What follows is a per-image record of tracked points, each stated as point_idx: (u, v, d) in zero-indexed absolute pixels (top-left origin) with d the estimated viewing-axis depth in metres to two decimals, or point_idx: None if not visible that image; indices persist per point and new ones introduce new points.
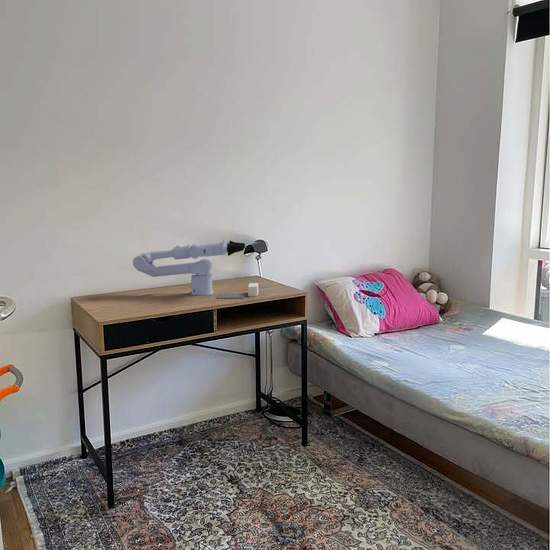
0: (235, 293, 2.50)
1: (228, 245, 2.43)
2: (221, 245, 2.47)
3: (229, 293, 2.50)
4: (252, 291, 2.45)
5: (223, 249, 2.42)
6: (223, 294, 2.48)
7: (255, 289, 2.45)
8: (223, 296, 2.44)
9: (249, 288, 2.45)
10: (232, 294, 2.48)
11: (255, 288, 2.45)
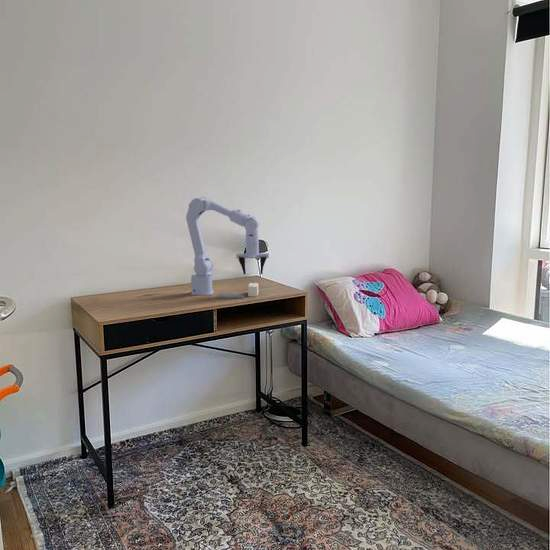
0: (235, 293, 2.50)
1: (239, 260, 2.45)
2: (247, 252, 2.44)
3: (229, 293, 2.50)
4: (252, 291, 2.45)
5: None
6: (223, 294, 2.48)
7: (255, 289, 2.45)
8: (223, 296, 2.44)
9: (249, 288, 2.45)
10: (232, 294, 2.48)
11: (255, 288, 2.45)
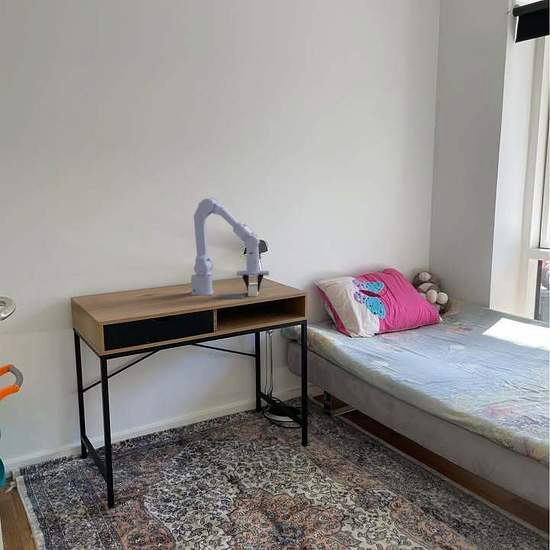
0: (235, 293, 2.50)
1: (243, 278, 2.46)
2: (247, 270, 2.46)
3: (229, 293, 2.50)
4: (252, 291, 2.45)
5: (237, 273, 2.47)
6: (223, 294, 2.48)
7: (255, 289, 2.45)
8: (223, 296, 2.44)
9: (249, 288, 2.45)
10: (232, 294, 2.48)
11: (255, 288, 2.44)
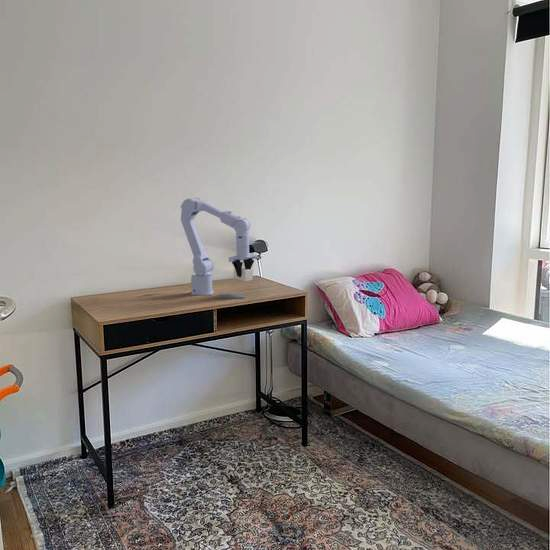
0: (235, 293, 2.50)
1: (237, 263, 2.41)
2: (241, 254, 2.42)
3: (229, 293, 2.50)
4: (248, 275, 2.43)
5: (230, 259, 2.40)
6: (223, 294, 2.48)
7: (251, 272, 2.44)
8: (223, 296, 2.44)
9: (246, 272, 2.42)
10: (232, 294, 2.48)
11: (251, 271, 2.44)
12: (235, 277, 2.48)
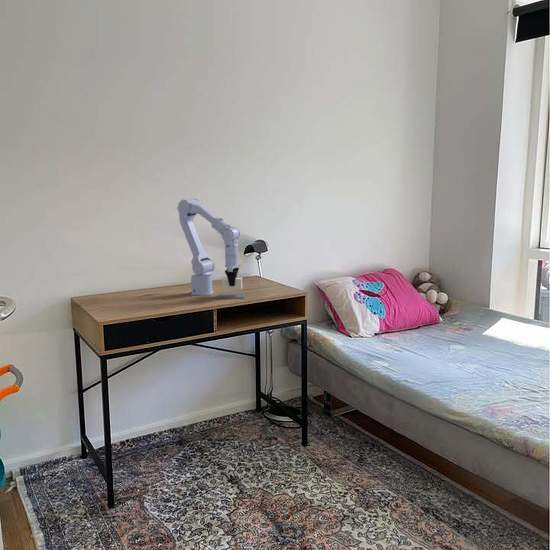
0: (235, 293, 2.50)
1: (235, 272, 2.39)
2: (235, 263, 2.41)
3: (229, 293, 2.50)
4: (241, 283, 2.45)
5: (231, 268, 2.36)
6: (223, 294, 2.48)
7: None
8: (223, 296, 2.44)
9: (241, 280, 2.43)
10: (232, 294, 2.48)
11: None
12: (224, 287, 2.43)
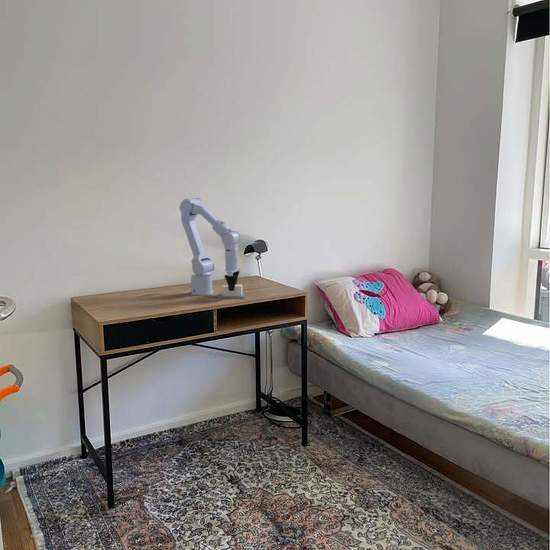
0: None
1: (235, 277, 2.38)
2: (235, 267, 2.41)
3: None
4: None
5: (231, 273, 2.37)
6: None
7: None
8: (223, 296, 2.44)
9: (241, 287, 2.44)
10: None
11: None
12: (224, 294, 2.44)
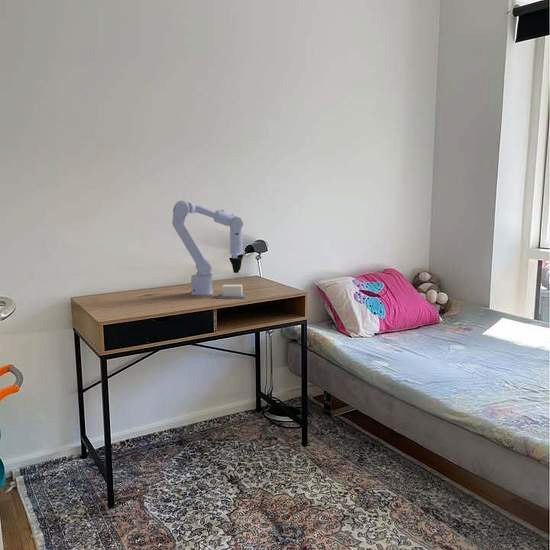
0: None
1: (239, 259, 2.48)
2: (239, 250, 2.51)
3: None
4: None
5: (236, 255, 2.46)
6: None
7: None
8: (223, 296, 2.44)
9: (241, 287, 2.44)
10: None
11: None
12: (224, 294, 2.44)
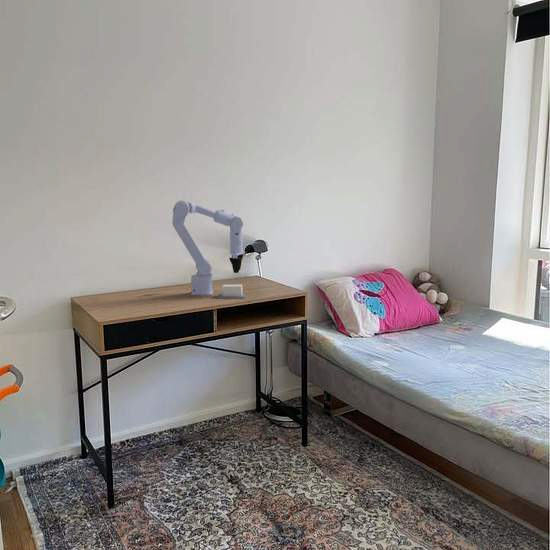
0: None
1: (239, 259, 2.48)
2: (239, 250, 2.51)
3: None
4: None
5: (236, 255, 2.46)
6: None
7: None
8: (223, 296, 2.44)
9: (241, 287, 2.44)
10: None
11: None
12: (224, 294, 2.44)
